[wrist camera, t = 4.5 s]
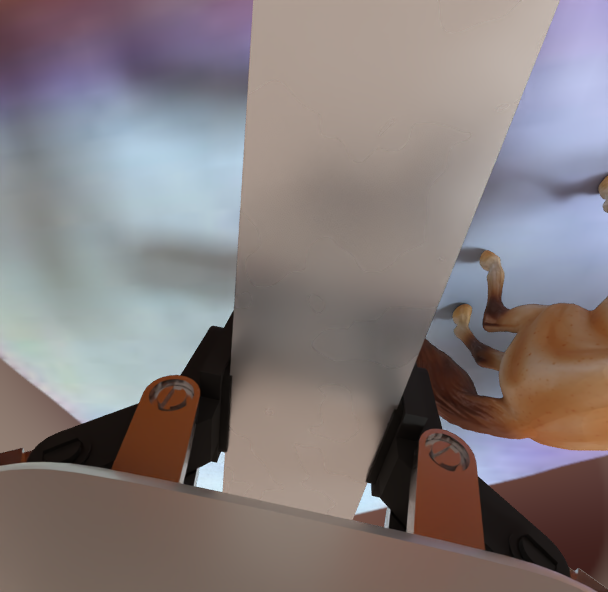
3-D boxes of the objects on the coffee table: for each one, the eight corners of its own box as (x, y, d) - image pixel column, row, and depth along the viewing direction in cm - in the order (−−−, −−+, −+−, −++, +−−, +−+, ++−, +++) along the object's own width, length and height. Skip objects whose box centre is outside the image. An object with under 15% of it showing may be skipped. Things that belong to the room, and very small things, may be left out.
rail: (538, -163, 7) (730, -428, 3) (317, 531, 19) (308, 631, 15) (321, -195, 7) (283, -480, 3) (241, 514, 19) (215, 609, 16)
